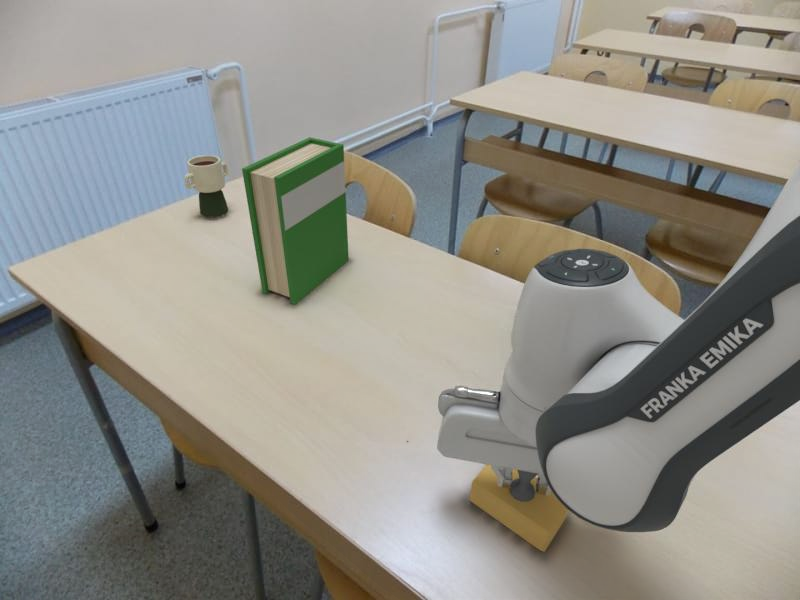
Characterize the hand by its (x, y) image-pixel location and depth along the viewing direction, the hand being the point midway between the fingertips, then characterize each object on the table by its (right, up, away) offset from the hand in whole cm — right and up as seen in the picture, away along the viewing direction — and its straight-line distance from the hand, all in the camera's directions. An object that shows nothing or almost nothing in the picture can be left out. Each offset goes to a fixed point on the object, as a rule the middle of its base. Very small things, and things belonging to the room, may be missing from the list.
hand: (523, 486), depth 58 cm
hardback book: (-32, +26, +42) cm, 59 cm away
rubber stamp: (0, -4, +3) cm, 5 cm away
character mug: (-57, +41, +63) cm, 94 cm away
